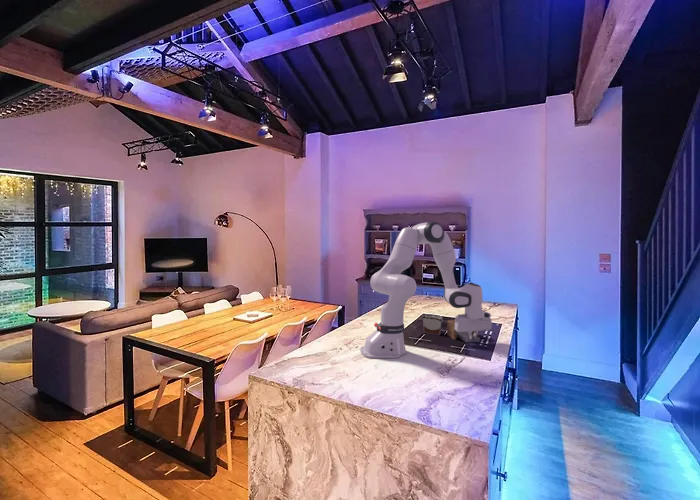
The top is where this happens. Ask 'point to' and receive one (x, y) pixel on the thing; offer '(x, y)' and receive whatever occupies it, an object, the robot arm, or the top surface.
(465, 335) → the slate tile
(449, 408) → the top surface
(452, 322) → the walnut shelf
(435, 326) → the food container
